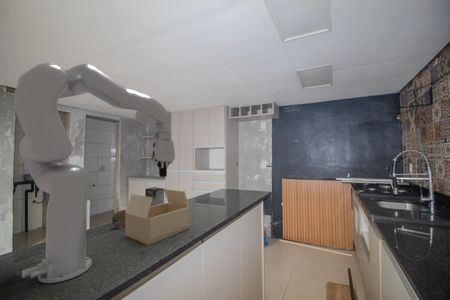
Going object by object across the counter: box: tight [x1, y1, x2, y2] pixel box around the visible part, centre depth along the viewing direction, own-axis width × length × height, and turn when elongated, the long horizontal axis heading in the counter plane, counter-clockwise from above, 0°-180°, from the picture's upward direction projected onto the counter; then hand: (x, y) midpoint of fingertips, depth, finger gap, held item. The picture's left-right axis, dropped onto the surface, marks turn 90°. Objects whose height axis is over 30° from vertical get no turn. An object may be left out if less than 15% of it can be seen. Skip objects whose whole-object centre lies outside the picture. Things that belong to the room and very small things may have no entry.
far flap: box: [163, 188, 190, 207], centre depth 99 cm, size 8×14×1 cm
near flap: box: [125, 193, 153, 219], centre depth 83 cm, size 8×14×1 cm
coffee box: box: [144, 186, 165, 206], centre depth 113 cm, size 9×6×16 cm
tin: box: [111, 209, 126, 230], centre depth 99 cm, size 15×3×8 cm, turn 129°
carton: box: [124, 202, 190, 246], centre depth 91 cm, size 22×17×10 cm
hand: (163, 176), depth 93 cm, fingers closed
